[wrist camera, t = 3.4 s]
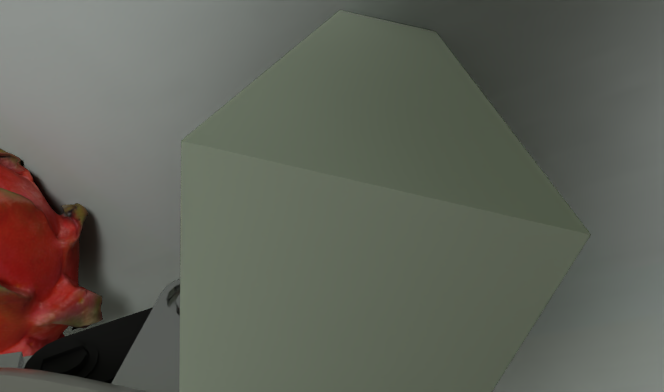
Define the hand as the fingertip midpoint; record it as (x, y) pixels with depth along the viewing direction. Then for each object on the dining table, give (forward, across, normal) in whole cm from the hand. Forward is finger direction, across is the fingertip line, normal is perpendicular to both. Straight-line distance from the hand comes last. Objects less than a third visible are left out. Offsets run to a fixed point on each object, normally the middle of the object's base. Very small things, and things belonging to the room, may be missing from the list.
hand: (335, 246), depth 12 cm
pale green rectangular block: (+4, 0, 0) cm, 4 cm away
